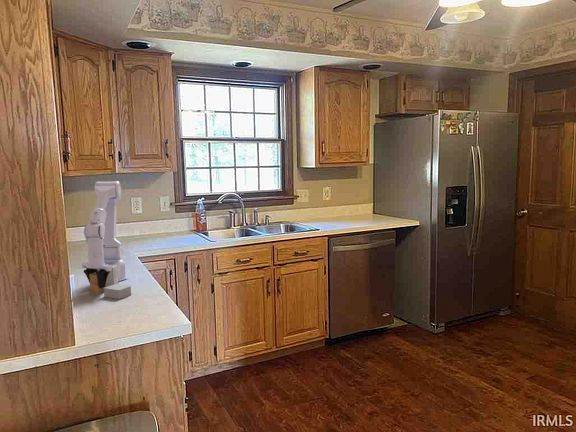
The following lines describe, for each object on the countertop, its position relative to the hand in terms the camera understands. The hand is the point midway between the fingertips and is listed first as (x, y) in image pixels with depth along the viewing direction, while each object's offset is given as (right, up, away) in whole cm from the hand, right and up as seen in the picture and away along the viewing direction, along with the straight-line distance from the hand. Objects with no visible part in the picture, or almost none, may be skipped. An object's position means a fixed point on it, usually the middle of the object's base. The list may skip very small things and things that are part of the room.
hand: (97, 286), depth 175 cm
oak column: (0, -2, 0) cm, 2 cm away
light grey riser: (+10, -3, -4) cm, 11 cm away
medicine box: (0, -2, +10) cm, 10 cm away
